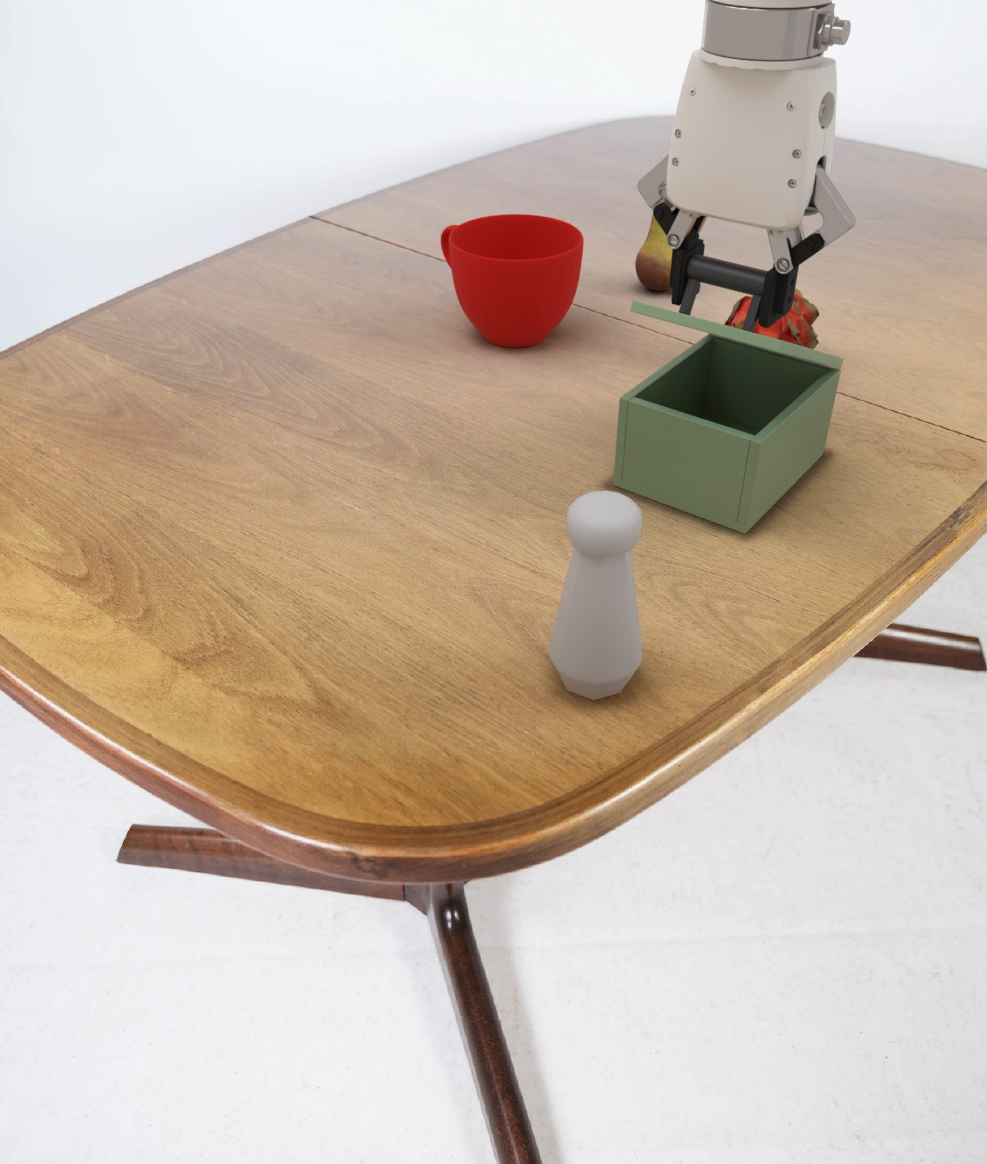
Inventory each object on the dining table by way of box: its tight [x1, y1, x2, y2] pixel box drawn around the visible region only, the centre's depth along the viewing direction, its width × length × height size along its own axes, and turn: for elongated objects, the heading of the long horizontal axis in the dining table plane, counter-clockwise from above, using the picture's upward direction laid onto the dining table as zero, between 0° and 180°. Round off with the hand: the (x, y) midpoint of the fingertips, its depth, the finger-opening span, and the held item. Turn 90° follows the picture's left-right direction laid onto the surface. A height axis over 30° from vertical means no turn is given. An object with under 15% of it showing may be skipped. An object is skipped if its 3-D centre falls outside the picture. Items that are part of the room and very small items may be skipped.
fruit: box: [634, 214, 673, 292], centre depth 115 cm, size 6×6×12 cm
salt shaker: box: [548, 490, 643, 701], centre depth 64 cm, size 6×6×13 cm
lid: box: [629, 254, 845, 369], centre depth 81 cm, size 15×12×5 cm
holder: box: [612, 333, 842, 535], centre depth 86 cm, size 15×12×8 cm
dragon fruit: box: [723, 287, 820, 362], centre depth 100 cm, size 8×8×12 cm
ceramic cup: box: [440, 213, 585, 348], centre depth 107 cm, size 13×17×10 cm
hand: (727, 307), depth 77 cm, fingers closed on lid, 6 cm apart
